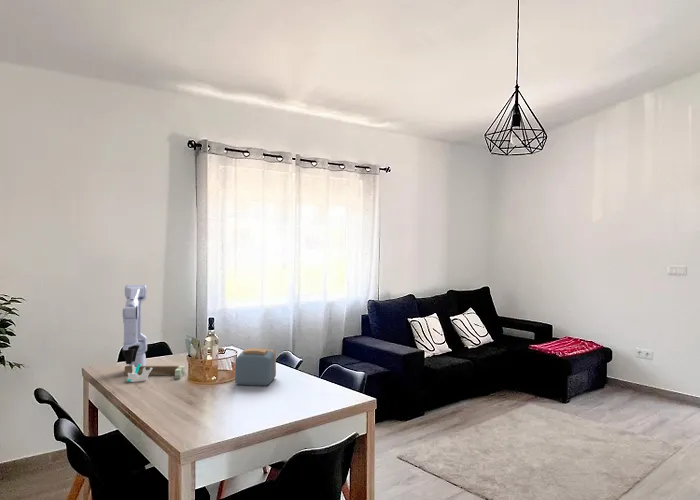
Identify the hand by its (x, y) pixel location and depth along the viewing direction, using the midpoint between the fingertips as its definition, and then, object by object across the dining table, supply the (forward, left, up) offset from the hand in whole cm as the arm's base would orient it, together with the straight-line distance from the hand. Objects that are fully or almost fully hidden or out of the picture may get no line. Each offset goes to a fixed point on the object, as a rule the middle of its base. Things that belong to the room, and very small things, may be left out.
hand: (130, 362), depth 244 cm
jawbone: (-10, 0, -11) cm, 15 cm away
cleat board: (-16, +5, -10) cm, 20 cm away
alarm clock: (-5, +56, -11) cm, 57 cm away
